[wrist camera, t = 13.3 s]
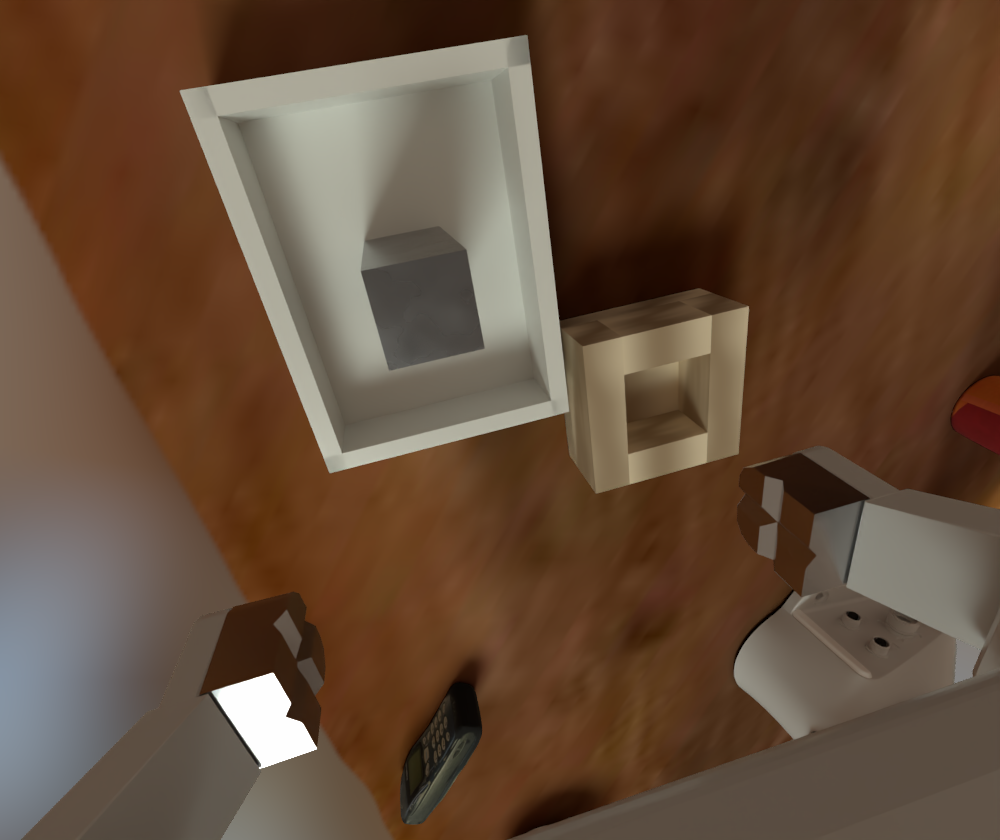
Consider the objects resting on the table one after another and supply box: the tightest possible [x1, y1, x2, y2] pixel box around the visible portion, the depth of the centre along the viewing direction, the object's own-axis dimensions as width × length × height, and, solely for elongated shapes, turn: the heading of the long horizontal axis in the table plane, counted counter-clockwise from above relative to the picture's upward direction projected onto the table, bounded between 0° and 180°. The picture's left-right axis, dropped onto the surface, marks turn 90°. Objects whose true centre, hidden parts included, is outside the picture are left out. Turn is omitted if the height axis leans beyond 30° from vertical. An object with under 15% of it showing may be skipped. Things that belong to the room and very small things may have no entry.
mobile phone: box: [400, 683, 482, 824], centre depth 45 cm, size 5×3×15 cm
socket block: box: [559, 288, 749, 494], centre depth 33 cm, size 10×10×5 cm
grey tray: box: [180, 35, 569, 473], centre depth 26 cm, size 14×18×4 cm
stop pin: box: [361, 226, 485, 371], centre depth 24 cm, size 4×4×9 cm
